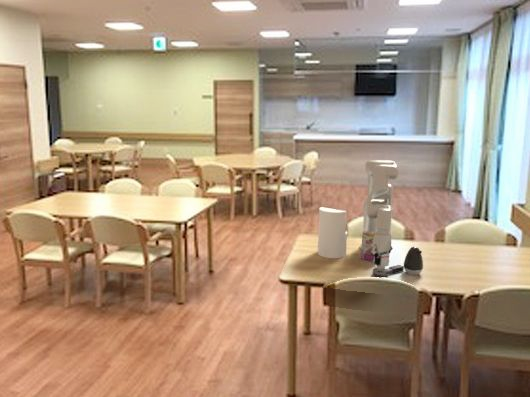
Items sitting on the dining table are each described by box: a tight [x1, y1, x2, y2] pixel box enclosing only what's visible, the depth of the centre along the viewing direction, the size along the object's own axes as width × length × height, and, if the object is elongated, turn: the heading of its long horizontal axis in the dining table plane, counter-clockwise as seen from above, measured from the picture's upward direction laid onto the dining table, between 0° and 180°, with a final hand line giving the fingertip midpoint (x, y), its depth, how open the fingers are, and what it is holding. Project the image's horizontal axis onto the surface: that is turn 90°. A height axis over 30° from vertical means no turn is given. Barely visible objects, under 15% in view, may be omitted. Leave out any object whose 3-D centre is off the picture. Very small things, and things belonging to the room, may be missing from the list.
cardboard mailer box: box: [373, 252, 390, 268], centre depth 269 cm, size 6×6×7 cm
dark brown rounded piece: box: [403, 246, 424, 276], centre depth 274 cm, size 10×10×15 cm
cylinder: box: [317, 206, 348, 259], centre depth 303 cm, size 17×17×28 cm
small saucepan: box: [372, 264, 405, 278], centre depth 274 cm, size 20×8×7 cm, turn 123°
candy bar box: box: [360, 231, 376, 262], centre depth 295 cm, size 11×5×16 cm, turn 71°
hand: (381, 263), depth 269 cm, fingers closed on cardboard mailer box, 5 cm apart
